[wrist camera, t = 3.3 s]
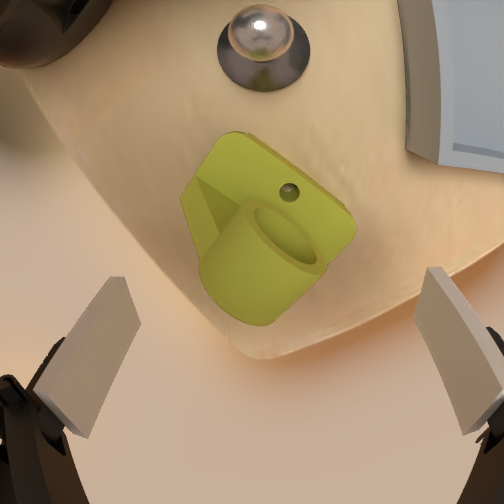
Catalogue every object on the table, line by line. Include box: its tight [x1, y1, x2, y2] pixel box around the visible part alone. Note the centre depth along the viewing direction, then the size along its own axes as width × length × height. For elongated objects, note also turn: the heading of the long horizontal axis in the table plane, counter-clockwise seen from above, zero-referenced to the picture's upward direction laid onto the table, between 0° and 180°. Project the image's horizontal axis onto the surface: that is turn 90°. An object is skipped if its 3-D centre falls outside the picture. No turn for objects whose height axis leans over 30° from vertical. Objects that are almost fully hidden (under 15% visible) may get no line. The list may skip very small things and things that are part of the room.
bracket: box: [180, 131, 356, 326], centre depth 17 cm, size 11×6×10 cm, turn 54°
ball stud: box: [217, 5, 310, 91], centre depth 13 cm, size 6×6×7 cm
